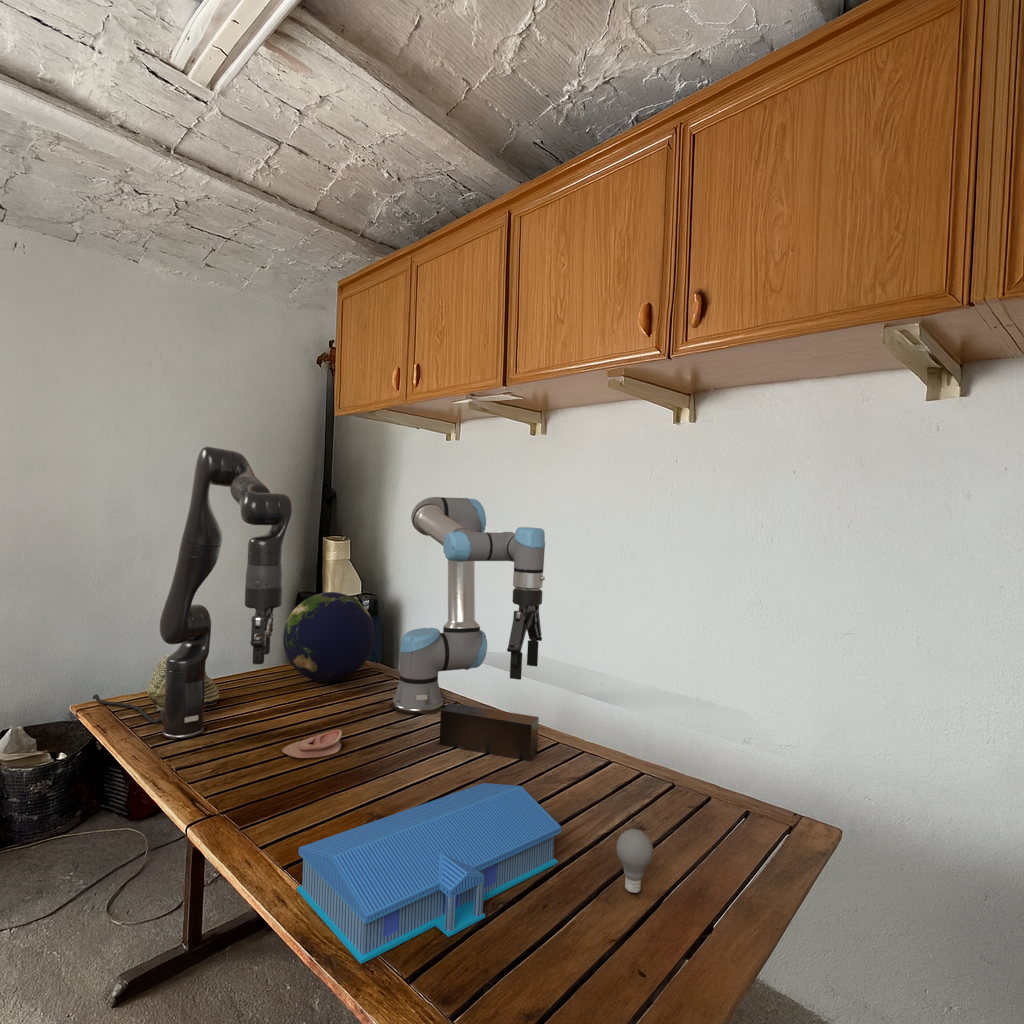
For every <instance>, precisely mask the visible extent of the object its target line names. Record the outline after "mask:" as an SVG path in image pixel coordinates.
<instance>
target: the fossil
mask: <svg viewBox="0 0 1024 1024" xmlns="http://www.w3.org/2000/svg"><path fill="white" fill-rule="evenodd" d="M170 655H171V654H165V655H164V656H163V657H162V658H161V659H160V660H159V662H158V663H157V666H156V667H155V669H154V670H153V672H152V675H151V677H150V680H149V684H148V688H147V697H148V699H149V700H150V701H152V703H153V704H154V706H155V711H158V712H159V711H160V712H161V711H162V710H164V705H165V674H166V660H167V658H168V657H169V656H170ZM220 698H221V696H220V690H219V688H218V686H217V685H216V683H215V682H214V681H213V679H212V678H211V677H209V675H208V674H207V672H206V671H205V693H204V707H207V706H213V705H215V704H217V703H218V701H219V699H220Z"/></svg>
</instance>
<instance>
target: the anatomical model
mask: <svg viewBox="0 0 1024 1024" xmlns="http://www.w3.org/2000/svg"><path fill="white" fill-rule="evenodd" d="M342 736H343V731H342V730H341V729H334V730H329V731H326V732H323V733H319V734H316V735H313V736H311V737H308V738H305V739H302V740H297V741H295V742H293V743H290V744H288V745H286V746H285V747H283V748H282V750H281V752H282V753H284V754H285V755H287V756H289V757H292V758H296V759H311V758H312V759H313V758H321V757H326V756H330V755H334V754H336V753H338V752H339V751H340V750H341V748H342V744H341V742H340V740H341V739H342Z"/></svg>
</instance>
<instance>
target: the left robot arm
mask: <svg viewBox="0 0 1024 1024" xmlns="http://www.w3.org/2000/svg"><path fill="white" fill-rule="evenodd" d="M195 463H196V464H195V468H194V474H193V475H194V476H193V482H192V489H191V498H190V503H189V508H188V512H187V517H186V520H185V525H184V529H183V533H182V536H181V540H180V546H179V550H178V556H177V561H176V565H175V569H174V573H173V574H174V575H173V578H172V581H171V585H170V588H169V591H168V594H167V596H166V600H165V604H164V606H163V608H162V612H161V616H160V618H159V634H160V637H161V640H162V641H163V642H164V643H166V644H168V645H179V644H180V646H179V647H178V648H177V650H175V651H174V652H173V653H172V654H171V653H170V654H169V655H170V656H169V657H168V658H167V660H166V674H165V705H164V710H162V711H160V712H159V713H160V714H159V715H160V716H159V718H158V719H154V718H152V717H150V716H149V715H148V714H147V713H146V712H145V711H144V710H143V708H141V707H139V706H137V705H133V704H129V703H124V702H119V701H118V702H117V701H107V700H102V699H101V698H100V696H99V694H94V695H93V696H92V700H96V702H97V703H98V704H101V705H106V706H107V705H108V706H117V707H124V708H128V709H129V708H130V709H133V710H136V711H137V712H139V713H140V715H141V716H142V717H143V718H145V719H146V720H147V721H148V722H149V723H153V724H158V723H161V722H162V723H163V730H162V737H164V738H166V739H169V740H185V739H190V738H191V739H192V738H194V737H197V736H199V735H202V734H203V732H204V730H205V729H204V726H205V725H204V722H205V721H204V718H205V706H204V693H205V672H206V664H207V663H206V662H207V659H208V657H209V653H210V647H211V636H212V635H211V634H212V617H211V614H210V612H209V610H208V609H207V607H206V606H205V605H202V604H193V601H194V598H195V595H196V593H197V592H198V590H199V588H200V587H201V585H202V584H203V583H204V582H205V581H206V579H207V578H208V577H209V575H211V573H212V572H213V570H214V569H215V567H216V565H217V563H218V561H219V557H220V553H221V548H222V544H223V532H222V530H221V527H220V524H219V522H218V520H217V518H216V515H215V514H214V511H213V508H212V505H211V502H210V501H211V500H210V490H211V489H210V488H211V485H212V486H218V487H219V486H220V487H226V488H229V492H230V495H231V497H232V498H233V500H234V501H235V502H236V503H237V504H238V505H239V508H240V516H241V519H242V521H243V522H244V523H246V524H247V525H251V526H270V529H269V530H268V532H267V533H265V534H262V535H256V536H254V537H251V538H250V539H249V540H248V542H247V565H246V571H245V585H244V586H245V587H244V606H245V607H246V608H248V609H254V610H255V613H254V614H253V615H252V617H251V619H250V620H251V628H250V629H251V631H250V641H249V643H250V646H251V647H252V664H253V665H263V664H264V663H265V655H269V654H270V652H271V637H272V635H273V631H274V618H275V616H274V615H275V614H274V610H275V609H276V608H279V607H281V606H282V605H283V581H284V573H283V572H284V571H283V548H284V542H285V538H286V535H287V531H288V528H289V526H290V522H291V520H292V517H293V512H294V511H293V510H294V507H293V501H292V500H291V498H290V497H289V496H288V495H287V494H285V493H279V492H277V493H276V492H271V491H270V489H269V488H268V487H267V486H266V485H265V484H264V483H263V482H262V481H261V480H259V478H258V477H256V475H255V472H254V471H253V469H252V467H251V465H250V463H249V461H248V459H247V458H246V457H245V456H244V454H242V453H240V452H238V451H234V450H229V449H223V448H218V447H213V446H204V447H203V448H201V449H200V451H199V453H198V456H197V459H196V462H195ZM257 638H258V639H257Z"/></svg>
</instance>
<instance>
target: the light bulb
mask: <svg viewBox="0 0 1024 1024" xmlns="http://www.w3.org/2000/svg"><path fill="white" fill-rule="evenodd" d="M615 849H616V854H617V857H618V859H619V861H620V863H621V865H622V867H623V873H624V874H623V875H624V876H625V878H624V888H625V890H627V891H628V892H630V893H634V894H635V893H639V892H640V891H641V889H642V887H641V886H642V879H643V877H644V875H645V871H646V868H647V867H648V866H649V864H650V863H651V861H652V859H653V855H654V847H653V843H652V841H651V838H649V836H648V835H647V834H646V833H645V832H643V831H642V830H641V829H636V828H629V829H627V830H625V831H623V832H622V833H621V834H620V835H619V837H618V839H617V841H616V847H615Z"/></svg>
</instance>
